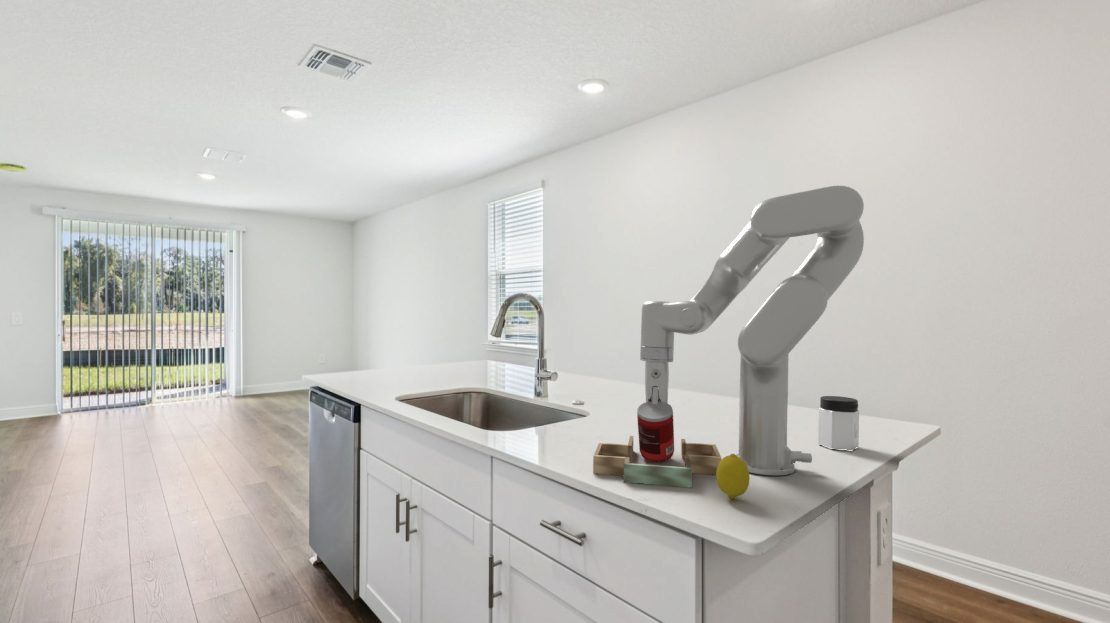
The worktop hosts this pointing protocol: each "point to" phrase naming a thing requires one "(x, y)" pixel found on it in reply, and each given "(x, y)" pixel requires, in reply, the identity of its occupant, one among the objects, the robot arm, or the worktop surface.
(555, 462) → the worktop surface
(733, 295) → the robot arm
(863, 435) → the worktop surface
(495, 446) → the worktop surface
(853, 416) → the jar
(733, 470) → the lemon
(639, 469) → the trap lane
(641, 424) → the canned food
